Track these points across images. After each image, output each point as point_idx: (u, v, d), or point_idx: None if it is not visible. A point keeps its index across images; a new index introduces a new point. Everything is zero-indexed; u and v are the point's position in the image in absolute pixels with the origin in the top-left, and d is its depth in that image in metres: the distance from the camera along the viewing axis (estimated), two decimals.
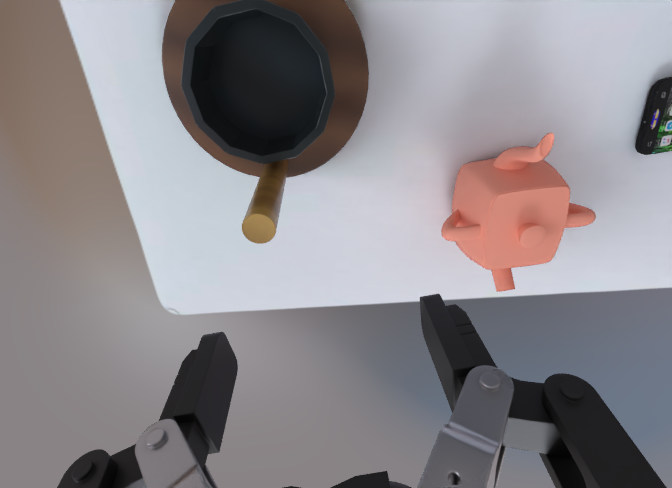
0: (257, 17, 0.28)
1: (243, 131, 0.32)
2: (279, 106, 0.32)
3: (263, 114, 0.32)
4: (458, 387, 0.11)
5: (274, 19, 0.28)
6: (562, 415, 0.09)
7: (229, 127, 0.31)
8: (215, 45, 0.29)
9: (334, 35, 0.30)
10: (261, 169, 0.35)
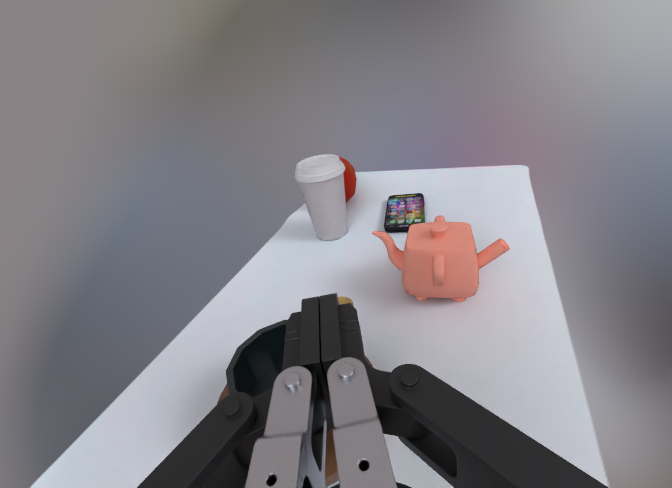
0: (255, 385, 0.39)
1: None
2: None
3: None
4: None
5: (262, 375, 0.40)
6: (413, 404, 0.10)
7: None
8: None
9: None
10: None
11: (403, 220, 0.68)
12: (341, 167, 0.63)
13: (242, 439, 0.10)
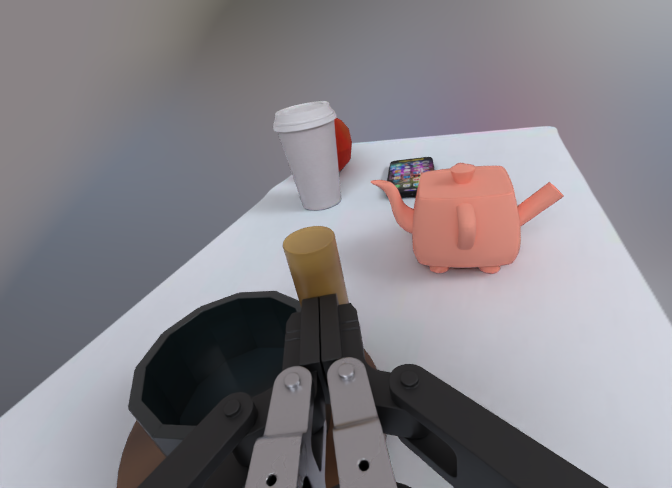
0: (195, 392, 0.25)
1: None
2: None
3: None
4: None
5: (207, 377, 0.26)
6: (413, 404, 0.10)
7: None
8: None
9: None
10: None
11: (409, 184, 0.55)
12: (331, 113, 0.50)
13: (242, 439, 0.10)
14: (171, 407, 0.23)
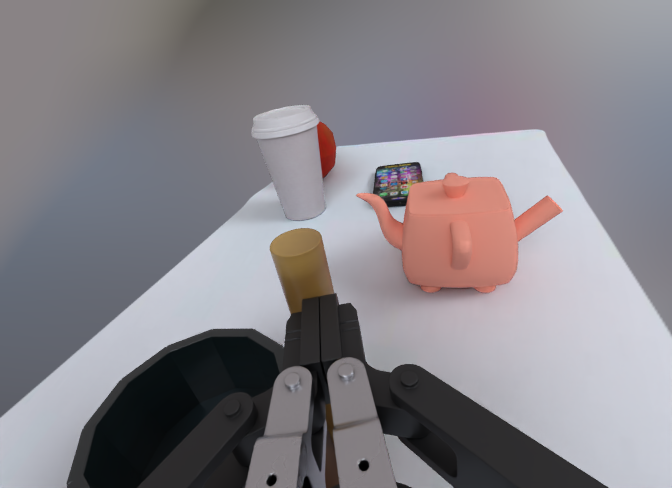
0: None
1: None
2: None
3: None
4: None
5: (150, 461, 0.21)
6: (413, 404, 0.10)
7: None
8: None
9: None
10: None
11: (397, 192, 0.53)
12: (313, 118, 0.47)
13: (242, 439, 0.10)
14: None
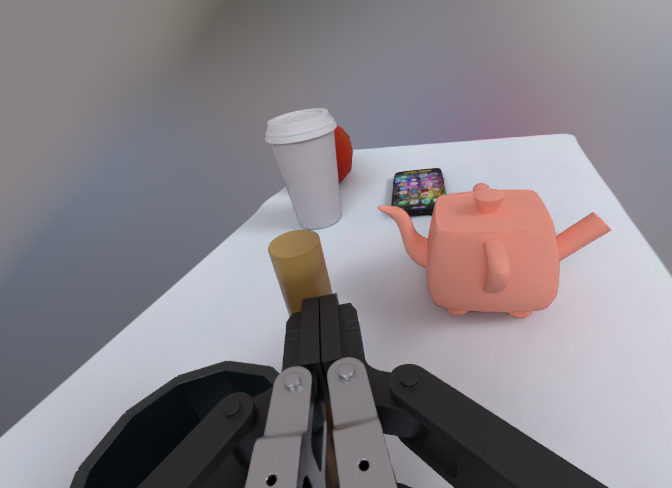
0: None
1: None
2: None
3: None
4: None
5: None
6: (413, 404, 0.10)
7: None
8: None
9: None
10: None
11: (417, 200, 0.50)
12: (331, 123, 0.44)
13: (242, 439, 0.10)
14: None
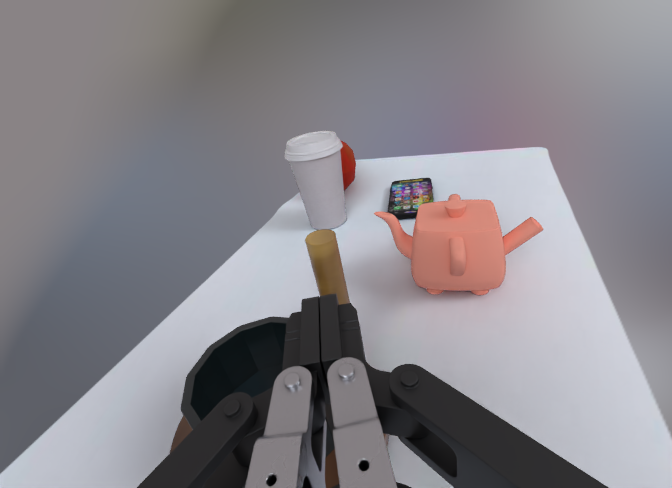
0: None
1: None
2: None
3: None
4: None
5: None
6: (413, 404, 0.10)
7: None
8: None
9: None
10: None
11: (409, 206, 0.60)
12: (338, 144, 0.54)
13: (242, 439, 0.10)
14: None
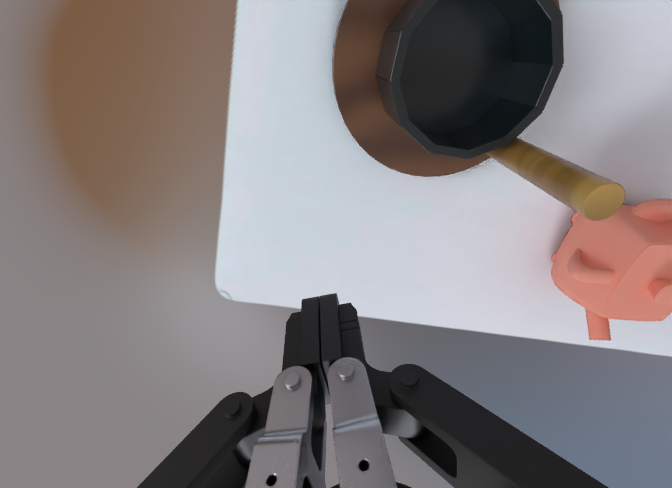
0: None
1: (446, 132, 0.30)
2: (471, 82, 0.28)
3: (459, 101, 0.28)
4: None
5: None
6: (413, 404, 0.10)
7: (440, 136, 0.28)
8: None
9: None
10: (475, 156, 0.32)
11: None
12: None
13: (242, 439, 0.10)
14: None
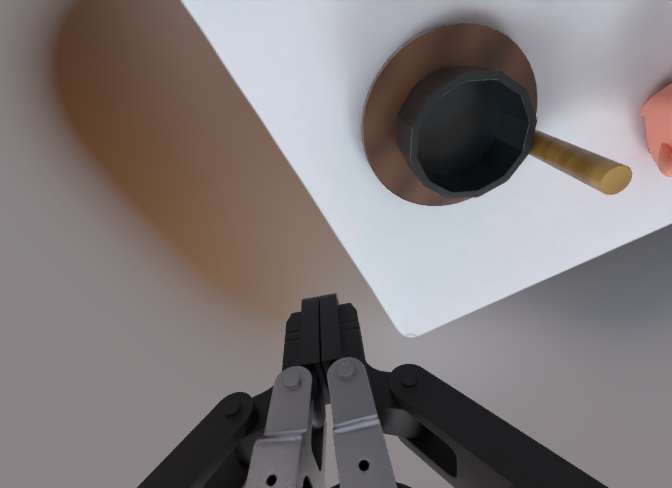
0: None
1: (481, 158, 0.37)
2: (473, 121, 0.35)
3: (474, 136, 0.36)
4: None
5: None
6: (413, 404, 0.10)
7: (478, 170, 0.36)
8: None
9: (433, 55, 0.33)
10: None
11: None
12: None
13: (242, 439, 0.10)
14: None
